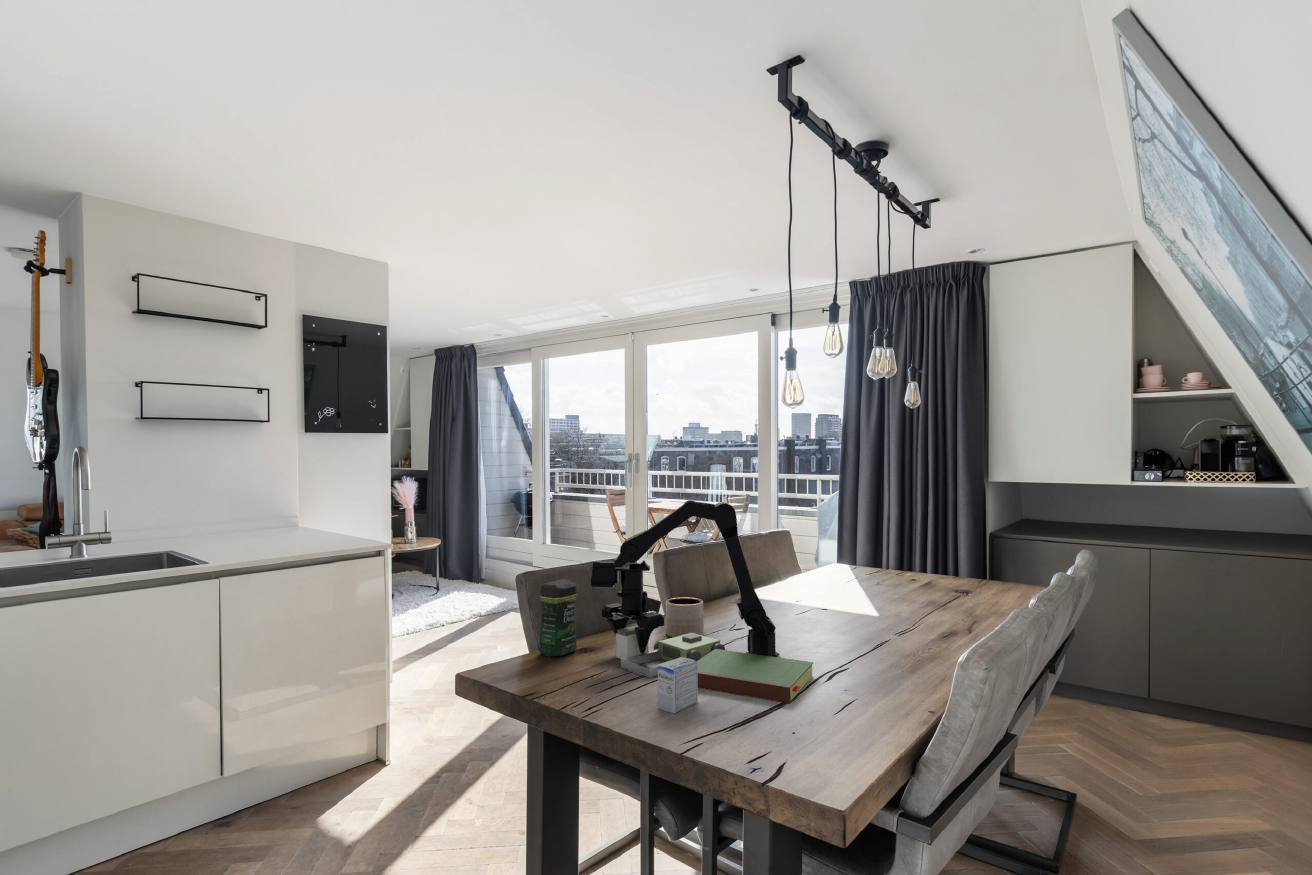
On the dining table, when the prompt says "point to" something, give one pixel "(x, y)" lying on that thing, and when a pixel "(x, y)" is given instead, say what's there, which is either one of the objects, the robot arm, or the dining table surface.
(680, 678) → the medicine box
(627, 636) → the chute block
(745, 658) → the hardcover book
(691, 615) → the planter
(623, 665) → the gray rectangular open frame
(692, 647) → the green wheeled cart
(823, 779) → the dining table surface
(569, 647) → the coffee jar
